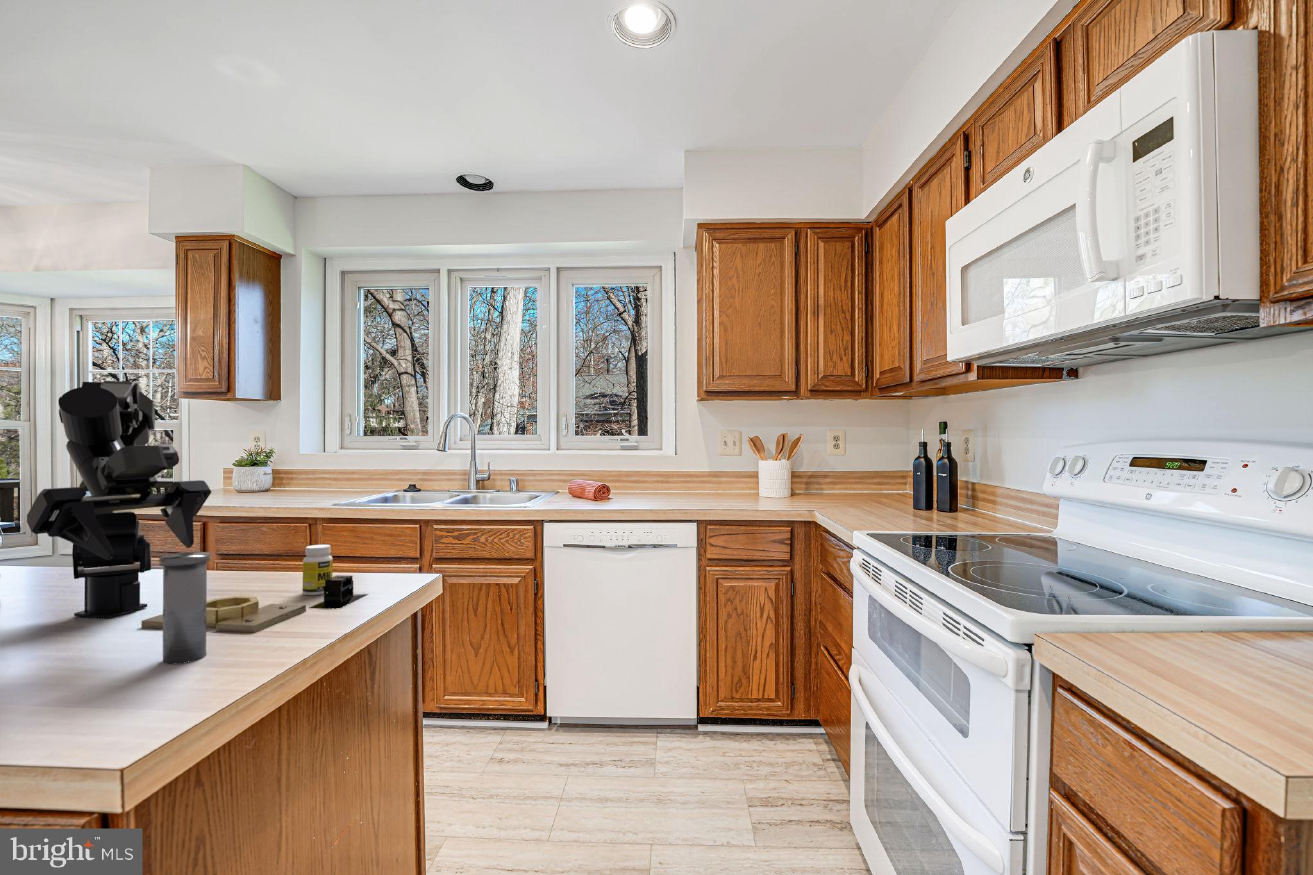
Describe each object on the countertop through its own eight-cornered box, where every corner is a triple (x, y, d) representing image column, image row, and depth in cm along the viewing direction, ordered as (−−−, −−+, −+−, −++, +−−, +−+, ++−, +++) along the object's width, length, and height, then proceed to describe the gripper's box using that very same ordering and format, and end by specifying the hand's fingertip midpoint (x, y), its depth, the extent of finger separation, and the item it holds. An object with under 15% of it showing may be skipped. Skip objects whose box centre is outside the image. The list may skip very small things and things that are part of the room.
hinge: (141, 627, 91) (141, 610, 91) (204, 607, 102) (204, 592, 102) (254, 632, 89) (254, 614, 89) (305, 611, 100) (305, 595, 100)
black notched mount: (339, 614, 100) (339, 586, 100) (295, 614, 100) (295, 586, 100) (376, 595, 112) (376, 570, 112) (337, 594, 112) (337, 569, 112)
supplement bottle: (319, 596, 109) (319, 549, 109) (296, 595, 110) (296, 547, 110) (338, 590, 114) (338, 544, 114) (316, 588, 115) (316, 543, 115)
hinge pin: (147, 664, 76) (148, 559, 76) (183, 650, 81) (184, 551, 81) (185, 666, 76) (186, 560, 76) (220, 651, 81) (220, 552, 81)
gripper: (39, 422, 75) (89, 518, 70) (203, 425, 92) (252, 503, 87) (6, 485, 78) (52, 581, 73) (171, 477, 95) (216, 554, 91)
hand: (152, 551), depth 81 cm, fingers open, 9 cm apart
